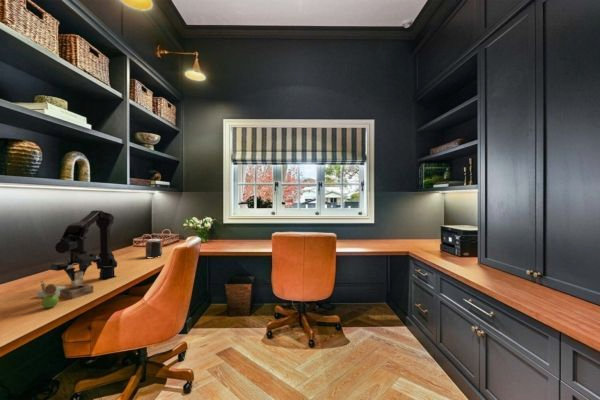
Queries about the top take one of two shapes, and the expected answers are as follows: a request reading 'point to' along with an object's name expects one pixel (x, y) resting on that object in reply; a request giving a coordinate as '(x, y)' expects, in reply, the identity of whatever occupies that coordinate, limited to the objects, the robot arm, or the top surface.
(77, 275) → the peg
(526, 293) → the top surface
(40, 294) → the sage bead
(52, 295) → the snail figurine
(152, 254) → the jar
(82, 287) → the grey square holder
